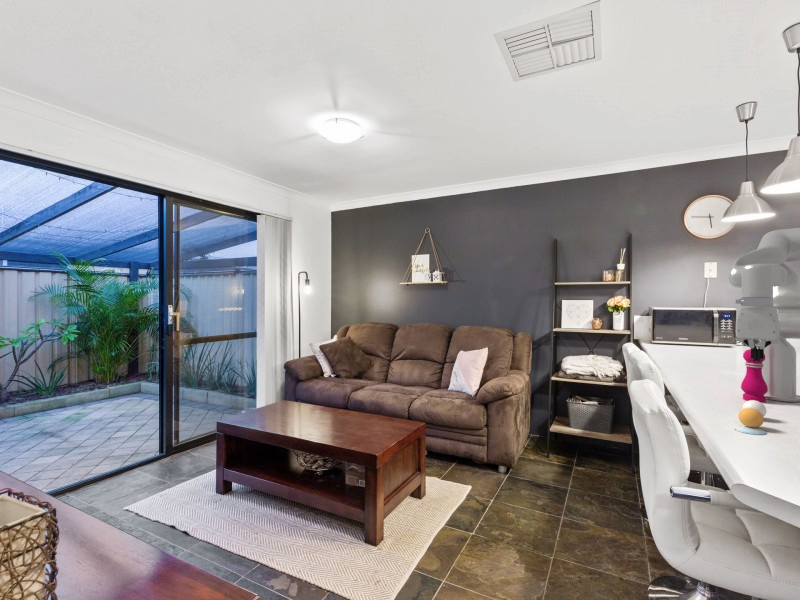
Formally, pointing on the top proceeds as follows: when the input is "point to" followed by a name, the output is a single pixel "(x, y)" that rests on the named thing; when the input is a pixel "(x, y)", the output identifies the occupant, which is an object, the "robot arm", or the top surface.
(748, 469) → the top surface
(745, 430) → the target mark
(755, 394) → the pepper mill
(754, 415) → the object ball
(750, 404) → the cue ball
